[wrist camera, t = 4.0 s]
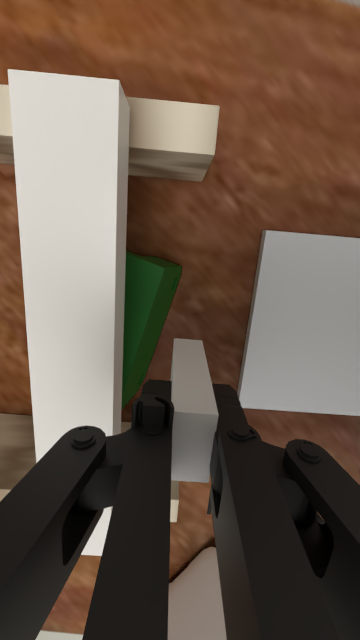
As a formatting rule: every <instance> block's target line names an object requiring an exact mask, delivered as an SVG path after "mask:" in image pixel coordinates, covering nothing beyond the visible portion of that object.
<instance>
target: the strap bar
mask: <svg viewBox="0 0 360 640" xmlns="http://www.w3.org/2000/svg"><path fill="white" fill-rule="evenodd" d="M8 80H9V94H10V108H11V121H12V135H13V149H14V163H15V176H16V190H17V204H18V218H19V231H20V245H21V259H22V273H23V286H24V300H25V314H26V328H27V341H28V355H29V369H30V383H31V397H32V410H33V424H34V438H35V452H36V463H37V462H38V461H39V460H40V459H41V458H42V457H43V456H44V455H45V454H46V453H47V452H48V451H49V450H50V448H51V447H52V446H53V445H54V444H55V443H56V442H57V441H58V440H59V439H60V438H61V437H62V436H63V435H64V434H65V433H66V432H68V431H69V430H71V429H73V428H76V427H79V426H86V425H87V426H95V427H97V428H100V429H102V431H103V432H104V433H105V435H106V436H112V435H117V434H121V407H122V371H123V335H124V300H125V264H126V228H127V193H128V157H129V122H130V107H129V104H128V102H127V99H126V96H125V94H124V91H123V89H122V86H121V84H120V81H119V80H113V79H103V78H93V77H83V76H72V75H62V74H52V73H42V72H32V71H22V70H12V69H8ZM112 509H113V506H112V507H108V508H104V511H103V514H102V516H101V518H100V520H99V522H98V523H97V525H96V527H95V529H94V531H93V533H92V535H91V536H90V538H89V540H88V542H87V544H86V546H85V548H84V550H83V551H82V553H81V555H96V556H102V552H103V548H104V543H105V539H106V535H107V530H108V526H109V522H110V517H111V513H112Z"/></svg>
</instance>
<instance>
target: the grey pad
mask: <svg viewBox="0 0 360 640" xmlns="http://www.w3.org/2000/svg"><path fill="white" fill-rule="evenodd" d="M237 395H238V398H239V400H240V403H241V406H242V408H252V409H267V410H281V411H295V412H310V413H324V414H339V415H353V416H360V238H350V237H339V236H327V235H315V234H304V233H292V232H281V231H269V230H263V231H262V238H261V244H260V250H259V257H258V263H257V270H256V276H255V282H254V289H253V295H252V302H251V308H250V314H249V321H248V327H247V334H246V340H245V346H244V353H243V359H242V366H241V372H240V378H239V385H238V391H237Z"/></svg>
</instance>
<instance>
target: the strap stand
mask: <svg viewBox="0 0 360 640" xmlns="http://www.w3.org/2000/svg"><path fill="white" fill-rule="evenodd" d="M126 99H127V102H128V104H129V107H130V122H129V157H128V175H132V176H143V177H154V178H165V179H176V180H188V181H199V182H202V180H203V178H204V176H205V174H206V172H207V170H208V168H209V166H210V164H211V161H212V159H213V157H214V155H215V145H216V136H217V126H218V116H219V107H220V106H215V105H205V104H195V103H185V102H175V101H164V100H154V99H144V98H134V97H126ZM0 164H11V165H15V163H14V149H13V135H12V121H11V108H10V94H9V85H1V84H0ZM130 428H131V422H121V433H123V432H126V431H127V430H129V429H130ZM35 464H36V452H35V438H34V424H33V416H31V415H16V414H1V413H0V501H1V500H2V499H3V498H4V497H5V496H6V495H7V494H8V493H9V492H10V491H11V490H12V489H13V488H14V487H15V485H16V484H17V483H18V482H19V481H20V480H21V479H22V478H23V477H24V476H25V475H26V474H27V473H28V472H29V471H30V470H31V469H32V467H33V466H34V465H35ZM178 503H179V481H175V480H171V510H170V522H177V512H178Z"/></svg>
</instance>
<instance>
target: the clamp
mask: <svg viewBox="0 0 360 640" xmlns="http://www.w3.org/2000/svg"><path fill="white" fill-rule="evenodd" d="M181 272H182V267H181V266H179V265H176V264H174V263H171V262H169V261H166V260H163V259H161V258H158V257H156V256H140V255H137V254H135V253H132V252H130V251H127V250H126V264H125V300H124V335H123V371H122V407H121V410H122V409H123V408H124V407H125V406H126V404H127V403H128V402H129V401H130V400H131V398H132V397H133V396H134V395H135V394H136V392H137V391H138V390H139V388H140V386H141V384H142V382H143V380H144V378H145V376H146V373H147V370H148V368H149V365H150V362H151V359H152V356H153V353H154V351H155V348H156V345H157V342H158V339H159V337H160V334H161V331H162V328H163V325H164V322H165V320H166V317H167V314H168V311H169V308H170V305H171V303H172V300H173V297H174V294H175V291H176V289H177V286H178V283H179V280H180V277H181Z"/></svg>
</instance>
